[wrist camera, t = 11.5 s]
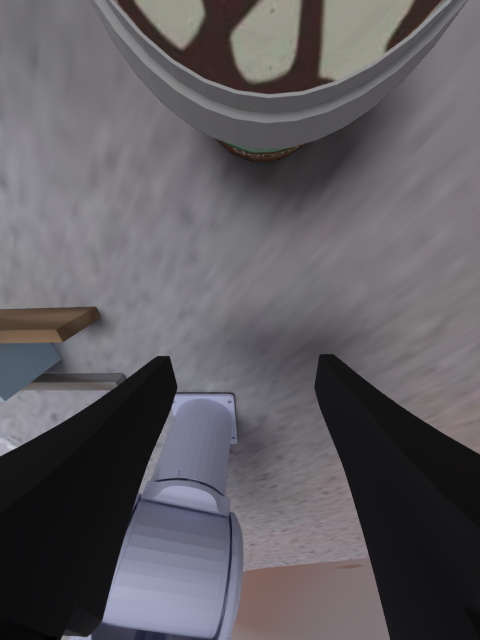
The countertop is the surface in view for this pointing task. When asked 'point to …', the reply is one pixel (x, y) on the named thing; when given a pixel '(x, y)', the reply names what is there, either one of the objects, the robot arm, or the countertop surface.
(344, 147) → the countertop surface
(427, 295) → the countertop surface
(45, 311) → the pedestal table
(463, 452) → the robot arm
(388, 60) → the food container
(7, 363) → the cabinet block
